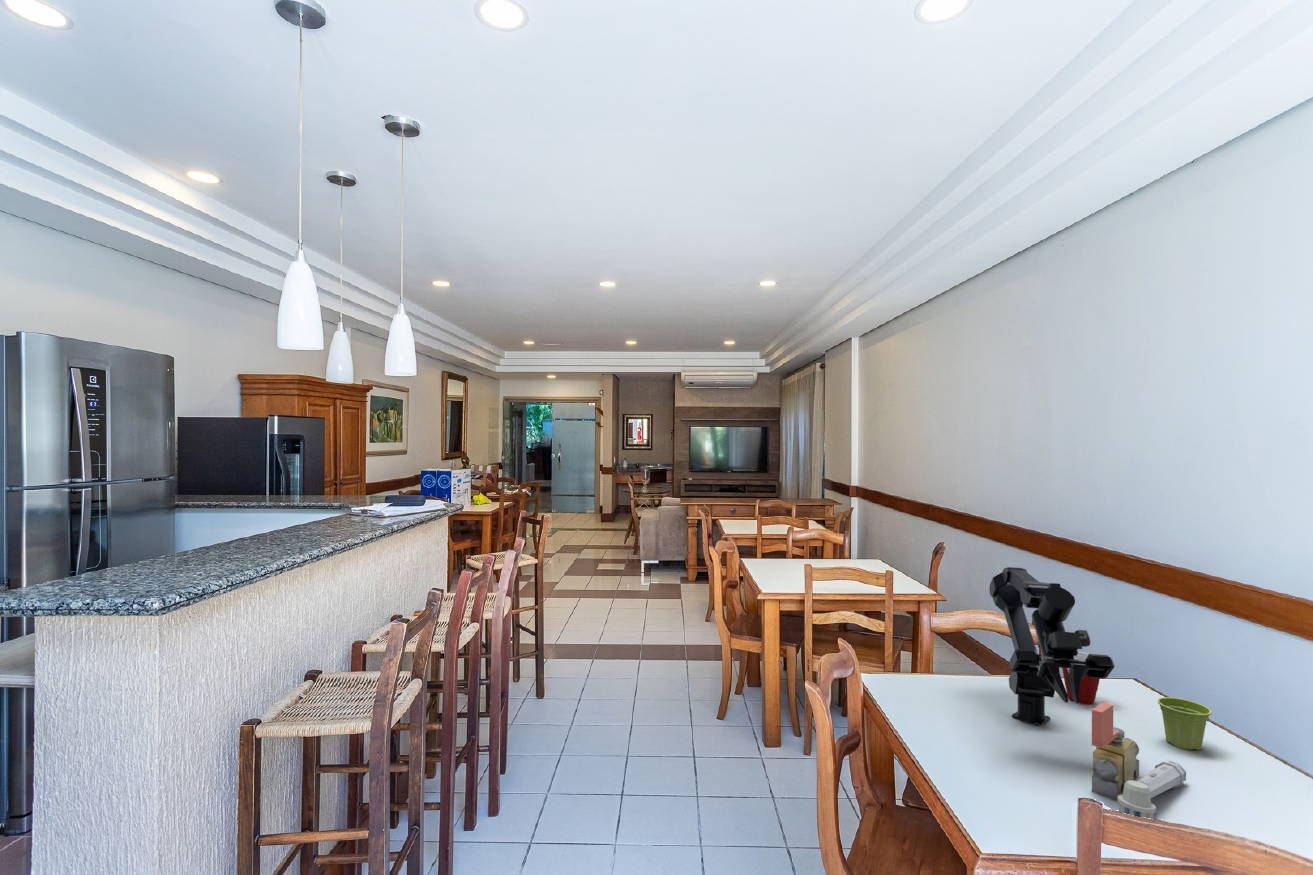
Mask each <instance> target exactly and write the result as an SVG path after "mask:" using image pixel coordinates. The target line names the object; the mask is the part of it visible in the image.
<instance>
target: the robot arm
mask: <svg viewBox="0 0 1313 875" xmlns="http://www.w3.org/2000/svg"><path fill="white" fill-rule="evenodd" d="M988 588H989V590H988V592H989V595H990V597H991V598H992V600H993V603H994V606H996V607H997V608H998V609H999V610H1001V612H1003V614H1004V618H1005V620H1006V624H1007V627H1008V631H1009V634H1010V638H1011V642H1012V644H1013V648H1014V651H1013V653H1012V654H1011V657H1010V658H1009V666H1010V669H1011V673H1010V675H1009V677H1008V685H1009V690H1010V691H1012V692H1013V694H1014V695H1017V711H1015V712H1014V713H1013V714H1011V717H1012V718H1015V719H1018V720H1021V721H1024V722H1027V723H1031V724H1034V725H1037V726H1043V725H1044V724H1046V723H1047V722H1048V721H1049V720H1050V719H1051V716H1048V715H1045V714H1046V713H1045V712H1046V711H1045V709H1046V707H1045V706H1046V702H1045V700H1046V699H1045V698H1047V697H1048V698H1053V699H1054V697H1055V695H1056V694H1057V695H1058V696H1059V697H1060V698H1061V700H1063V702H1064V703H1066V704H1068V702H1069V699H1068V696H1067V691H1066V686H1065V683H1064V682H1063V681H1064V680H1063V679H1062V676H1061V673H1060V671H1061V670H1060V668H1061V669H1062V668H1067V670H1068V673H1069V674H1068V675H1067V677H1066V679H1067V682H1068V685H1069V688H1070V692H1071V695H1072V698H1073V700H1074V702H1073V703H1075V704H1078V702H1079V693H1080V682H1081V680H1082V679H1083V678H1084V676H1085V675H1086V676H1088V677H1089V678H1099V679H1107V678H1108V677H1109V675H1110V674H1111V672H1113V669H1115V663H1114V661H1113V659H1112V658H1111V657H1110V656H1109V655H1108V654H1098V653H1097V654H1095V653H1088V654H1089V655H1088V657H1087V658H1086V660H1079V659H1074V656H1077V654H1078V651H1079V650H1083V647H1089V646H1090V645H1091V639H1090V635H1089V632H1088V630H1087V629H1084V630H1083V629H1077V630H1074V632H1069V631H1066V629H1065V627H1064V622H1065V621H1066V620H1067V619H1068V618H1069V615H1070V614H1071V612H1072V610H1073V607H1074V606H1075V605H1076V604H1075V603H1076V598H1075V597H1074V595H1072V593H1071V592H1070V591H1068V590H1067V589H1065V588H1063V587H1062V586H1061V584H1060V583H1057V582H1056V583H1055V582H1050V583H1049V582H1041V581H1038V580H1037V579H1036V578H1035V577H1034V576H1032V575H1031V574H1030V573H1028V571H1027V569H1025V568H1023V567H1013V566H1012V567H1011V566H1010V567H1009V566H1007V567H1004V568H1003V570H1002V571H1001V573H999V574H996V575H994V576H992V579H991V580H990V584H989V587H988ZM1024 607H1025V608H1027V609H1035V610H1034V611H1033V612H1032V613H1031V625H1033V627H1034V629H1035V634H1036V636H1037V640H1038V641H1037V642H1036V643H1035V642H1034V639H1033V635H1032V632H1031V629H1030V626H1029V622H1028V619H1027V616H1026V613H1025V610H1024ZM1035 644H1037V648H1040V650H1041V654H1040V653H1038V651H1037V648H1036V645H1035ZM1055 693H1056V694H1055Z"/></svg>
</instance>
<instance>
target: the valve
mask: <svg viewBox="0 0 1313 875" xmlns="http://www.w3.org/2000/svg"><path fill="white" fill-rule="evenodd" d="M1095 747H1096V746H1095ZM1139 752H1140V748H1139V745H1138V744H1137V742H1136V741H1134V740H1133V739H1131V738H1129V737H1124V738H1122V739H1119V738H1115V739H1114V740H1112V741H1111V742H1110V743H1108V744H1107V745H1106V746H1104V747H1103V748H1099V747H1096V748H1095V749H1094V750H1093V751H1092V775H1091V792H1093V793H1096V794H1098V795H1101V796H1104V797H1106V798H1108V799H1109V798H1110V799H1111V800H1115V801H1118V800H1117V797H1118V796H1119V795H1123V790H1124V784H1125V783H1126V781H1128V780H1133V781H1135V780H1136V779H1137V778H1138V777H1139V776H1140V759H1138V758H1137V756H1138V754H1139Z"/></svg>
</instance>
